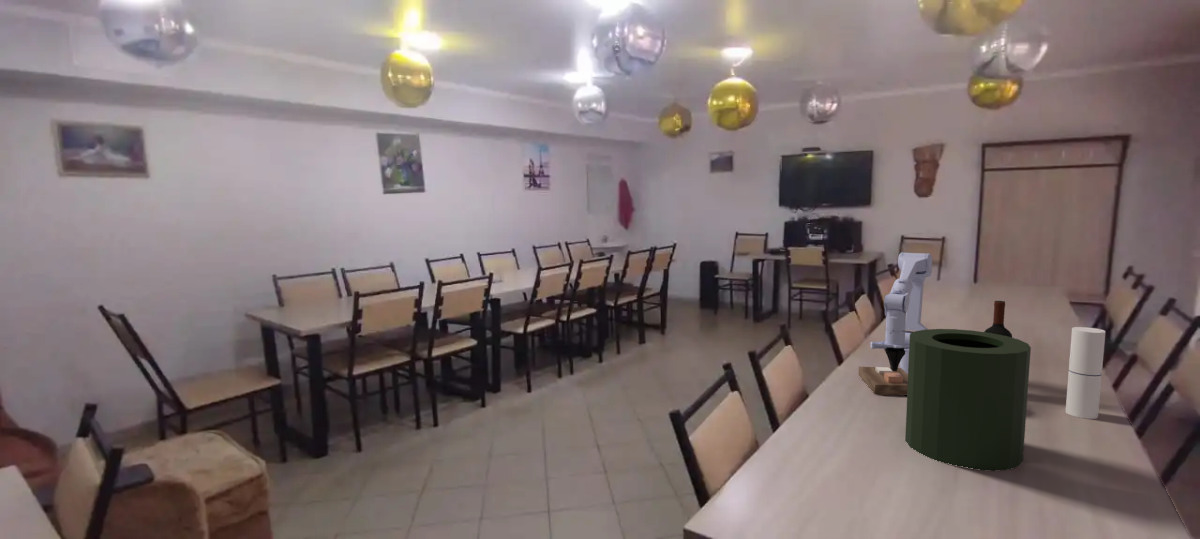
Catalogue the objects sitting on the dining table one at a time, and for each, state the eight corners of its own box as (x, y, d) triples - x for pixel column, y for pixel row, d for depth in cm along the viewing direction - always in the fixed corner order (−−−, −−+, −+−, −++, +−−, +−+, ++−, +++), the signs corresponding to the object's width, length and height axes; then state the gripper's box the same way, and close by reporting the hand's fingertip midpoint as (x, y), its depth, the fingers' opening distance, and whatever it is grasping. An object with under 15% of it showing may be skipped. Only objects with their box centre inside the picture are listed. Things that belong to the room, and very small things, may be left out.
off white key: (888, 376, 195) (888, 367, 194) (892, 380, 191) (892, 371, 190) (875, 375, 196) (875, 366, 195) (878, 379, 191) (879, 370, 191)
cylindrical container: (1069, 416, 159) (1076, 331, 156) (1062, 408, 165) (1068, 326, 162) (1101, 420, 155) (1109, 333, 152) (1093, 411, 162) (1100, 328, 159)
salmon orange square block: (898, 382, 185) (898, 372, 185) (902, 386, 181) (903, 376, 180) (884, 381, 186) (884, 372, 185) (888, 385, 182) (888, 376, 181)
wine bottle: (999, 388, 183) (1005, 299, 179) (1014, 396, 175) (1020, 303, 172) (975, 388, 184) (980, 299, 180) (988, 396, 176) (994, 303, 173)
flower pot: (966, 477, 126) (973, 358, 122) (882, 434, 150) (886, 333, 147) (1049, 461, 132) (1058, 347, 129) (956, 422, 156) (961, 325, 153)
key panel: (900, 377, 197) (900, 367, 196) (921, 396, 177) (922, 386, 177) (858, 375, 199) (858, 366, 199) (874, 394, 180) (875, 384, 180)
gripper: (875, 332, 179) (873, 373, 180) (924, 333, 176) (922, 374, 177) (869, 327, 185) (867, 366, 187) (916, 328, 183) (914, 368, 184)
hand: (893, 370), depth 183 cm, fingers closed
